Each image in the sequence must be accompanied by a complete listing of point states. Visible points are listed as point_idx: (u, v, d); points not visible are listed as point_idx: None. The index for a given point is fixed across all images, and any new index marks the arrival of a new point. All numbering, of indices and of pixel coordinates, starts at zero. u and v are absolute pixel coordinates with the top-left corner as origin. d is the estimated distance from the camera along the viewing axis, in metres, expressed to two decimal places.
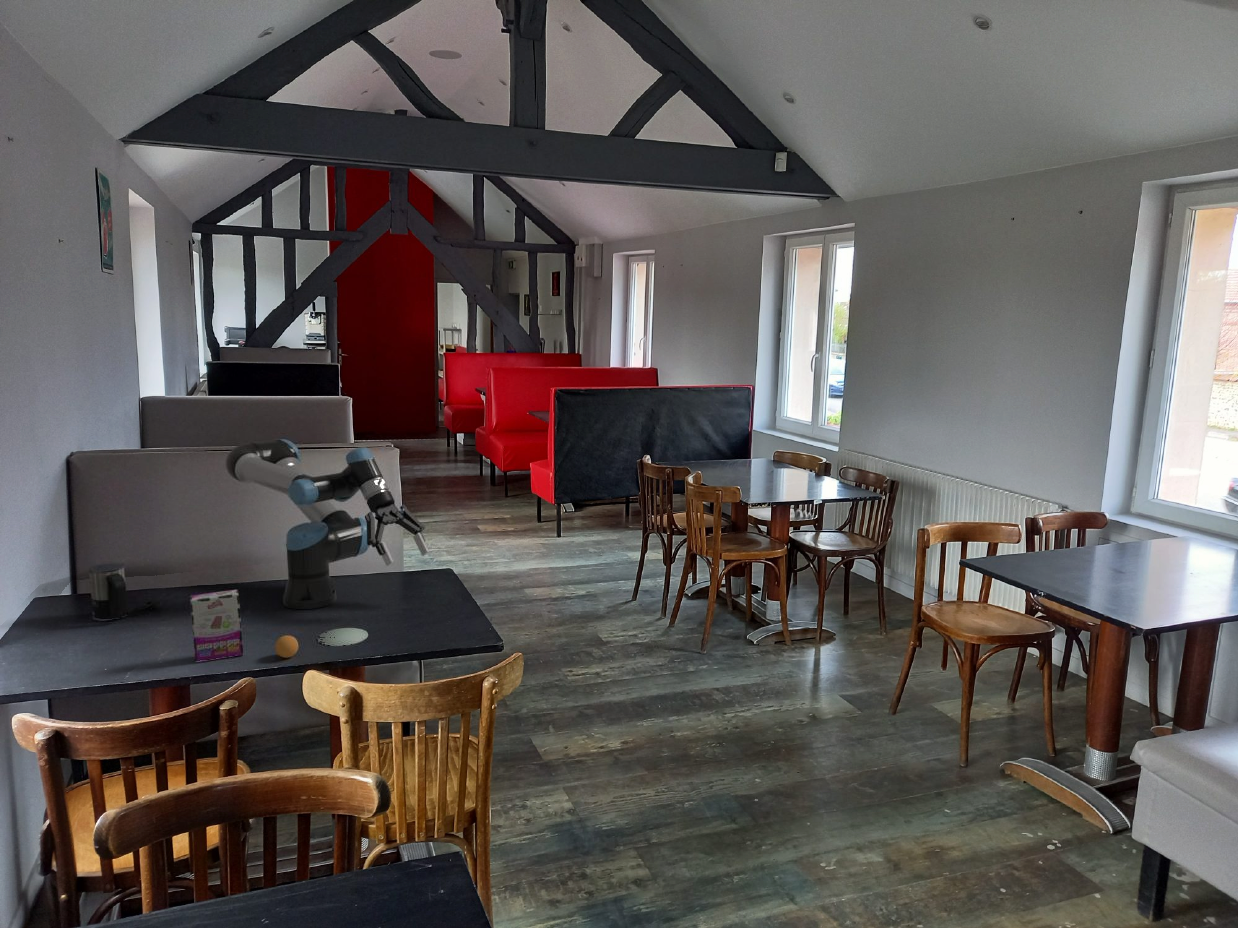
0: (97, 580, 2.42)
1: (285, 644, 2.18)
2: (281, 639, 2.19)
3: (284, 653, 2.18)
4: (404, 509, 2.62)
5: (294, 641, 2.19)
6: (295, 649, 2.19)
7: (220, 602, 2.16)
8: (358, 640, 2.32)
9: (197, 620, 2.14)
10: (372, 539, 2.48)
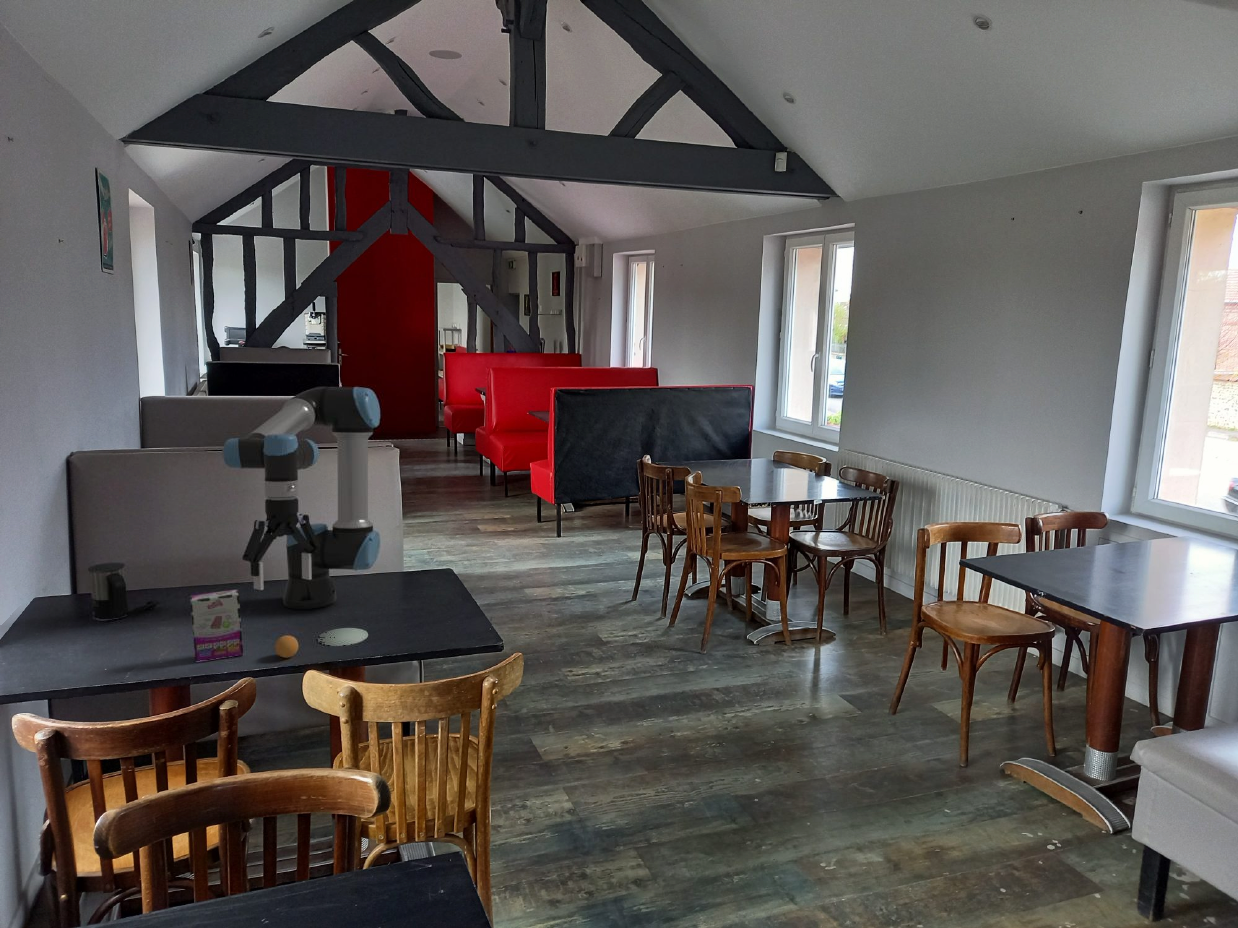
0: (97, 579, 2.42)
1: (285, 644, 2.18)
2: (281, 639, 2.19)
3: (284, 653, 2.18)
4: (305, 521, 2.16)
5: (294, 641, 2.19)
6: (295, 649, 2.19)
7: (220, 602, 2.16)
8: (358, 640, 2.32)
9: (197, 620, 2.14)
10: (250, 558, 2.03)
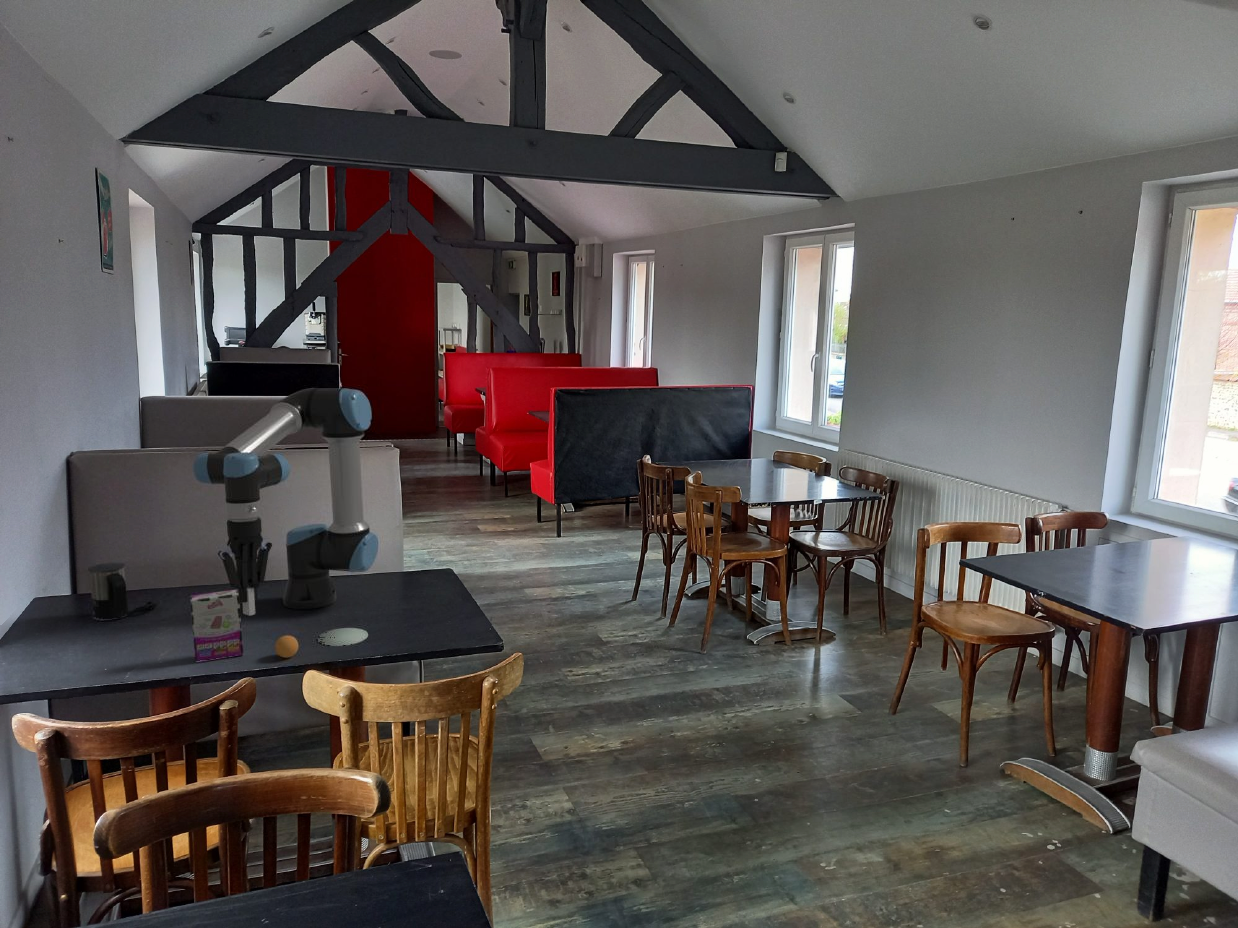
0: (97, 579, 2.42)
1: (285, 644, 2.18)
2: (281, 639, 2.19)
3: (284, 653, 2.18)
4: (266, 548, 2.11)
5: (294, 641, 2.19)
6: (295, 649, 2.19)
7: (220, 602, 2.16)
8: (358, 640, 2.32)
9: (197, 620, 2.14)
10: (237, 586, 2.06)
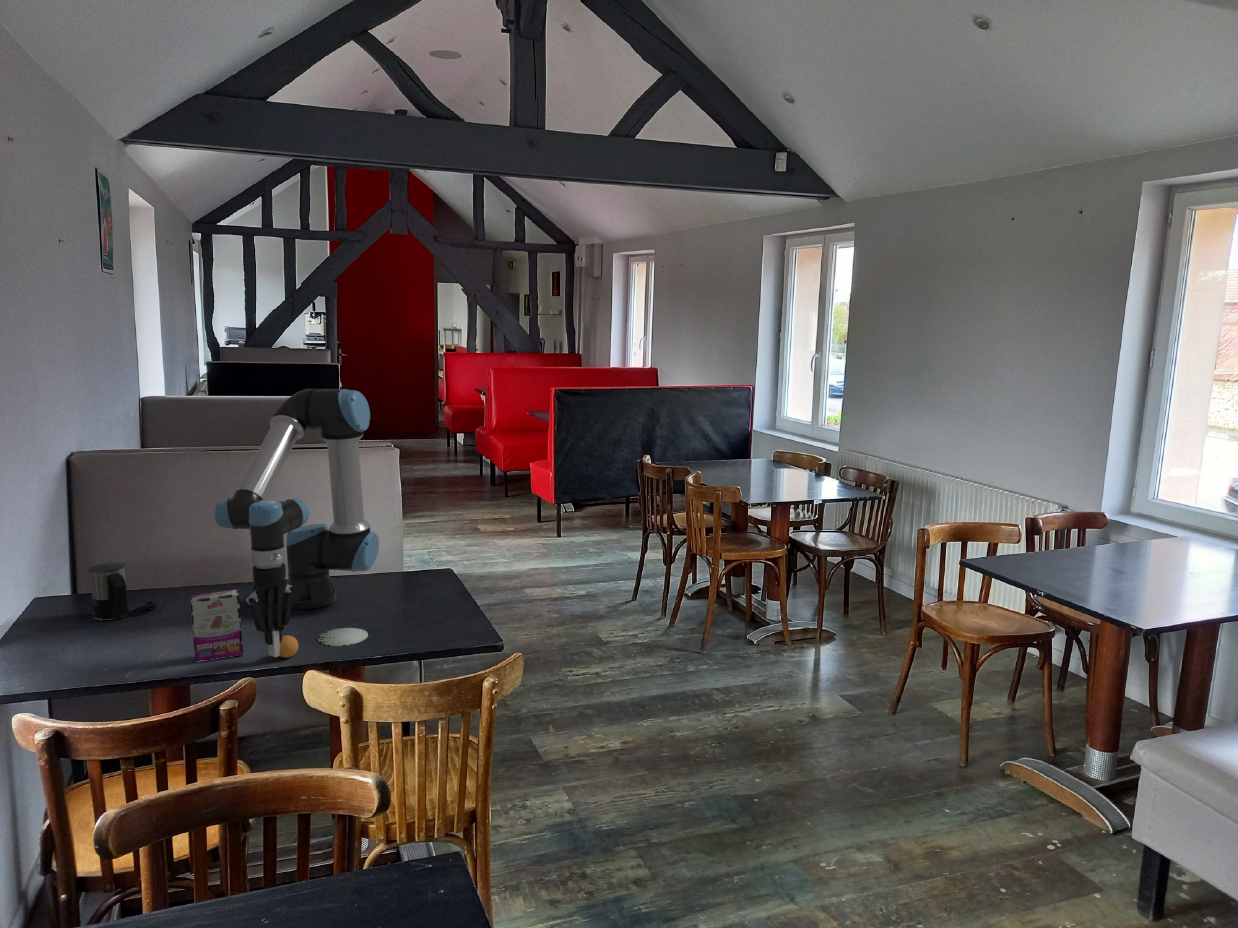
0: (97, 579, 2.42)
1: (285, 644, 2.18)
2: None
3: (284, 653, 2.18)
4: (290, 592, 2.18)
5: (294, 641, 2.19)
6: (295, 649, 2.19)
7: (220, 602, 2.16)
8: (358, 640, 2.32)
9: (197, 620, 2.14)
10: (263, 630, 2.13)
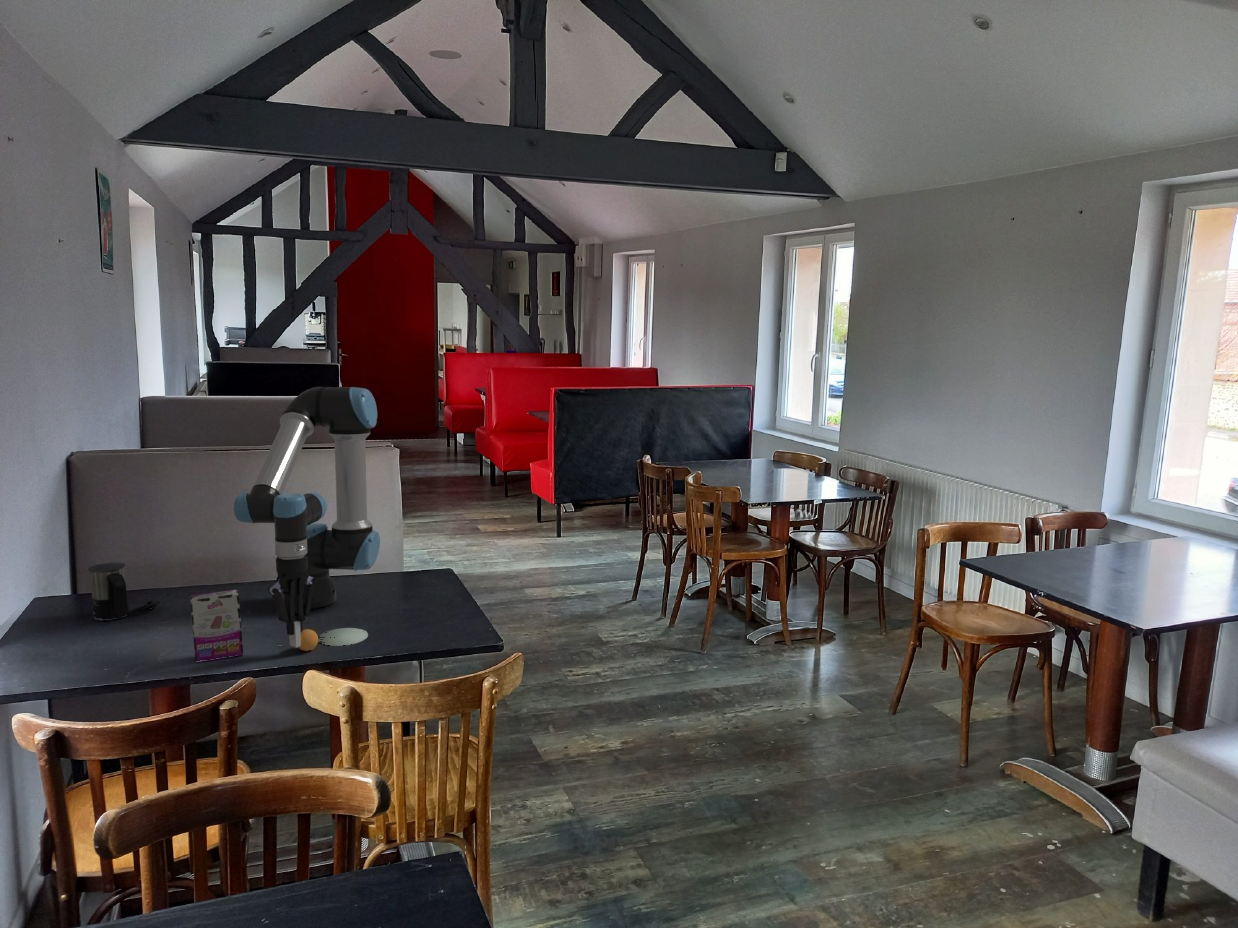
0: (97, 579, 2.42)
1: (312, 633, 2.24)
2: None
3: (306, 639, 2.22)
4: (312, 583, 2.23)
5: (317, 639, 2.25)
6: (313, 645, 2.23)
7: (220, 602, 2.16)
8: (358, 640, 2.32)
9: (197, 620, 2.14)
10: (285, 620, 2.17)
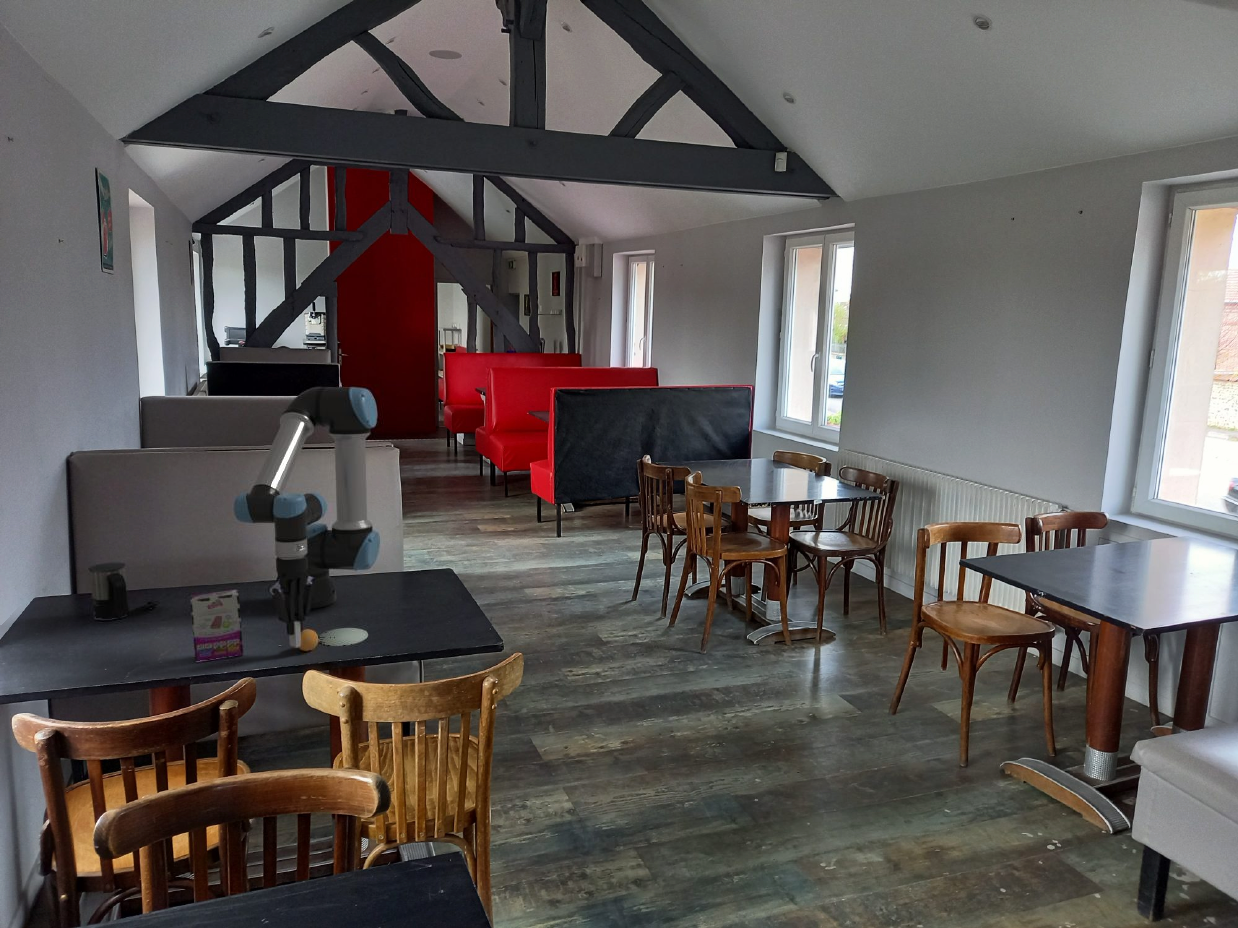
0: (97, 579, 2.42)
1: (312, 633, 2.24)
2: None
3: (306, 639, 2.22)
4: (312, 583, 2.23)
5: (317, 639, 2.25)
6: (313, 645, 2.23)
7: (220, 602, 2.16)
8: (358, 640, 2.32)
9: (197, 620, 2.14)
10: (285, 620, 2.17)
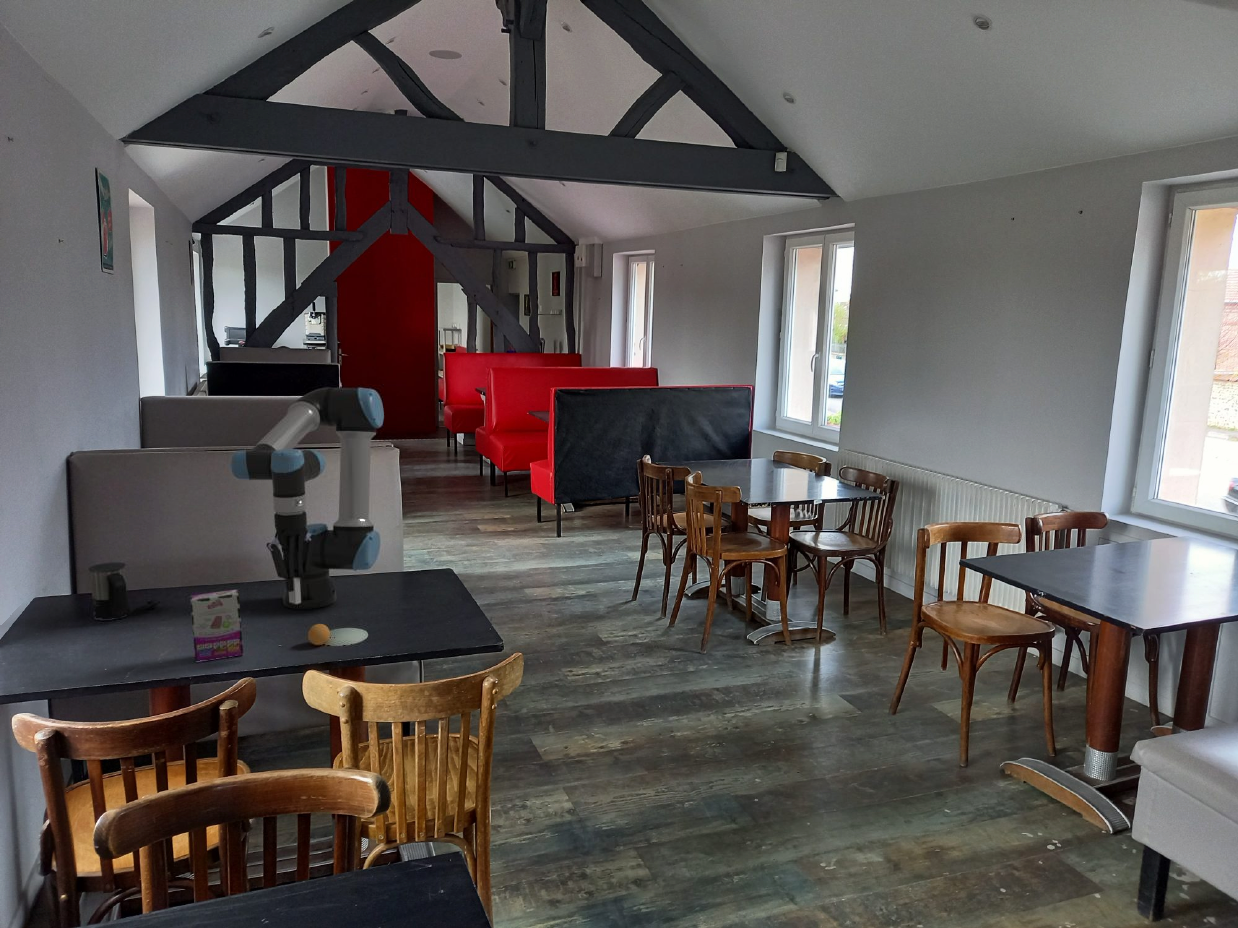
0: (98, 579, 2.42)
1: (329, 632, 2.30)
2: None
3: (326, 626, 2.28)
4: (311, 540, 2.21)
5: (326, 640, 2.28)
6: (324, 635, 2.27)
7: (220, 602, 2.16)
8: (358, 640, 2.32)
9: (197, 620, 2.14)
10: (284, 576, 2.16)
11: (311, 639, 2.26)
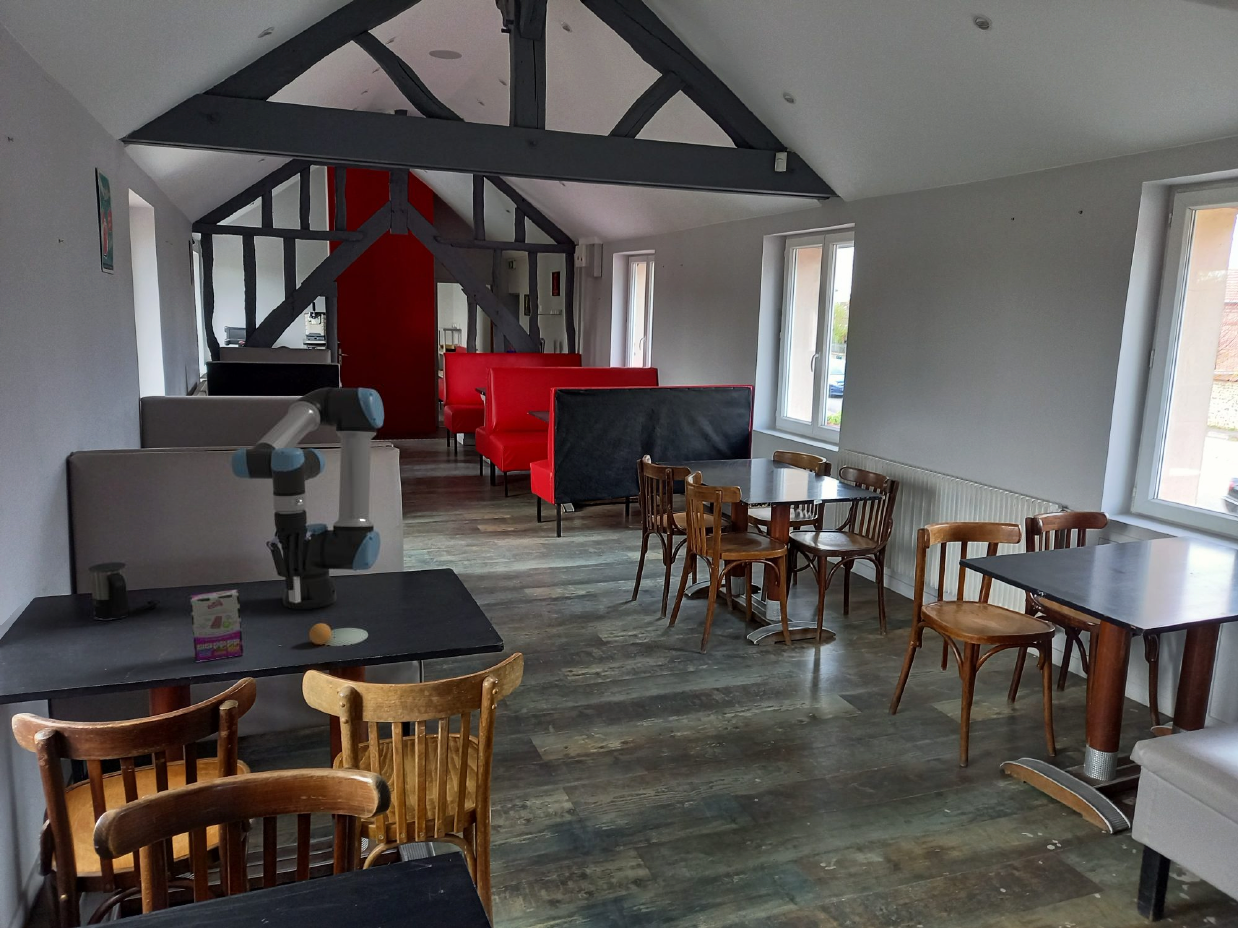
0: (98, 579, 2.42)
1: None
2: None
3: (328, 626, 2.29)
4: (311, 538, 2.21)
5: (327, 640, 2.28)
6: (325, 634, 2.27)
7: (220, 602, 2.16)
8: (358, 640, 2.32)
9: (197, 620, 2.14)
10: (284, 575, 2.16)
11: (312, 637, 2.27)
